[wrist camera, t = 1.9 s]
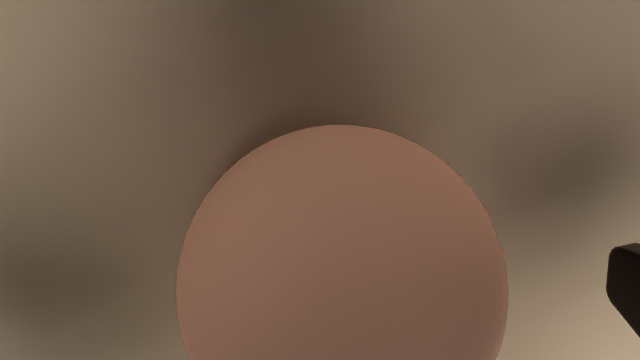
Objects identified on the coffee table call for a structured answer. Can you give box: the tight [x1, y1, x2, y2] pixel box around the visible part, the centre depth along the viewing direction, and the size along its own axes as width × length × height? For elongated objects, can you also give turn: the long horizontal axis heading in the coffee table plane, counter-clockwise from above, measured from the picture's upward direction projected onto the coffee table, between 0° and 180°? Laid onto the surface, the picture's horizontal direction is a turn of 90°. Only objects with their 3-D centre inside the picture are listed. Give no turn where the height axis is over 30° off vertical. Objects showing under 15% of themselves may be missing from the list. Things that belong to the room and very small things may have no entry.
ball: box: [176, 125, 508, 360], centre depth 10 cm, size 6×6×6 cm
